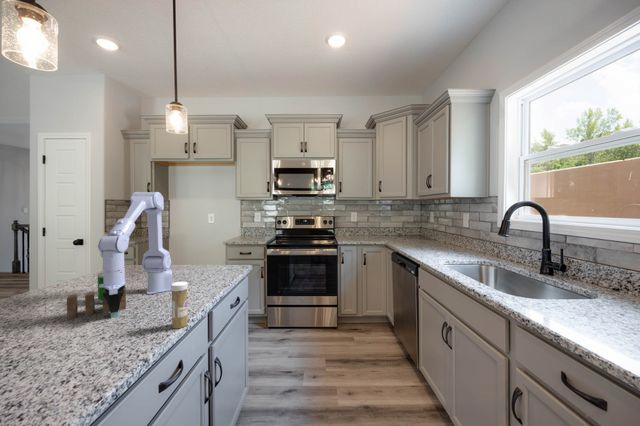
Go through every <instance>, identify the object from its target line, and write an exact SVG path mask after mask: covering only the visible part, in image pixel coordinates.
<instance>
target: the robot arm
mask: <svg viewBox="0 0 640 426" xmlns="http://www.w3.org/2000/svg"><path fill="white" fill-rule="evenodd" d="M129 199H130V206H129V208H128V209H127V211H126V213H125V215H124V217H123V218H119V219H118V220H117V221H116V223H115V224H114V225H113V227H112V228H111V229H110V231H109V232H108V234H107V235H104V236H102V237H101V238H100V239H99V241H98V244H97V248H98V251H99V252H100V257H101V258H102V266H103V267H102V271H103V281H104V284H100V285H99V288H101V287H103V288H105V291H106V292H104V293H103V296H104V298H105V299H106V301H107V303H108V306H109V310H110V312H109V313H110V314H111V313H114V312H118V311H119V312H120V310H119V307H120V301H121V298H122V296H123V294H124V292H125V290H124V288H125V287H126V284H127V283H126V278H125V274H126V273H125V270H126V269H125V251H126V250H127V249H128V248H129V242H130V240H131V239H130V237H131V234H132V232H134V230H135V228H136V223H135V222H136V220H137V219H138V218H139V217H140V216H141V213H142V212H143V211H144V212H145V214H146V215H147V231H148V236H147V237H148V250H146V251H145V253H143V257H142V261H141V265H142V268H143V270H144V271H145V272H146V273H147V288H146V290H145V291H146V294H147V295H152V294H157V293H163V292H169V291H171V284H173V283H174V282H173V271H172V269H171V265H172V258H171V255H170V251H169V250H167V249H165V248H164V247H163V244H164V243H163V224H162V217H163V216H162V212H163V211H164V210H165V209H164V208H165V207H164V204H165V203H164V196H163V195H162V194H161V192H159V191H155V192H153V191H152V192H151V191H148V192H147V191H145V192H143V191H135V192H132V195H131V197H130V198H129Z"/></svg>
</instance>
